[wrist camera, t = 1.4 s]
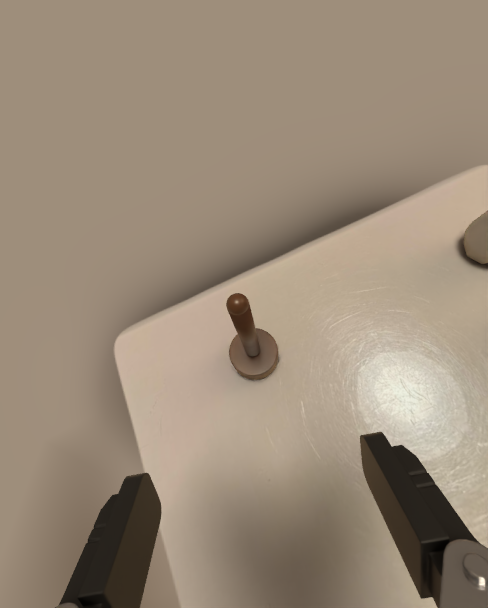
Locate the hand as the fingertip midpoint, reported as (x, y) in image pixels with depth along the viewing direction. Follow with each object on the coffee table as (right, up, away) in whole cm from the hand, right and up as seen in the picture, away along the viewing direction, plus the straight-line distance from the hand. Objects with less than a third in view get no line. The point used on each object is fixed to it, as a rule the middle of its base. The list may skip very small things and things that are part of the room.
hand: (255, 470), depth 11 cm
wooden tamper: (+1, 0, +23) cm, 23 cm away
